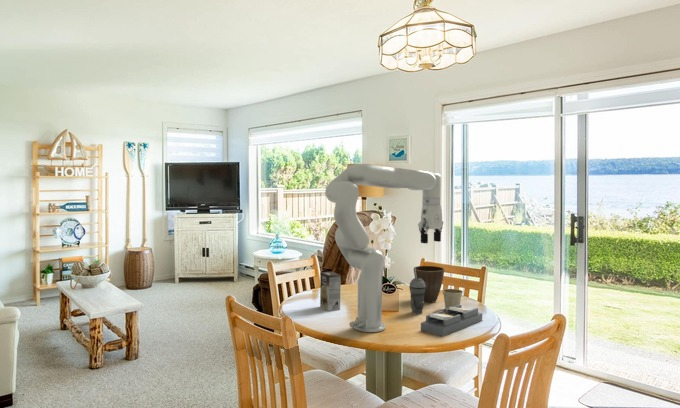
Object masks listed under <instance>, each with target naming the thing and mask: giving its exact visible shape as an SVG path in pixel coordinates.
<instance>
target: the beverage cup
mask: <svg viewBox="0 0 680 408" xmlns="http://www.w3.org/2000/svg"><path fill="white" fill-rule="evenodd" d="M414 269H415V276H414V278H413V279H412V278H411V281H410V282H409V286H408V287H409V291H410V305H411V313H412V314H415V315H422V314H423V310H424V303H425V302H424V292H425V288H426V286H425V282H424V281H423V280H422V279H421V278H417V276H416V268H414V267H413V270H414Z"/></svg>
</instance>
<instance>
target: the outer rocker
mask: <svg viewBox="0 0 680 408" xmlns="http://www.w3.org/2000/svg"><path fill="white" fill-rule="evenodd" d="M449 310H454V311H458V312H463V313H464V312H466V311H469V310H470V309H468V308H467V309H466V308H463V307H461V308H456V307H449Z"/></svg>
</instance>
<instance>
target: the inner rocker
mask: <svg viewBox="0 0 680 408" xmlns="http://www.w3.org/2000/svg"><path fill="white" fill-rule="evenodd" d="M429 315H430V317H433V318H437V319H441V320H444V319H447V318H450V317H453V316H451V315H447V314H445V313H444V314H433V313H430V314H429Z"/></svg>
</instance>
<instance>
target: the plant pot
mask: <svg viewBox="0 0 680 408" xmlns="http://www.w3.org/2000/svg"><path fill="white" fill-rule="evenodd" d="M414 268H416V276H417V278H421V279H422V280H423V281H424V282H425V286H426V288H425V292H424V303H435V302H437V300H438V297H439V295H440V292H441V289H442V285H443V280H444V275H445V268H444V267H441V266H435V265H418V266H415V267H414V266H413V274H414V275H413V276H414V277H415V269H414Z"/></svg>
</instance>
